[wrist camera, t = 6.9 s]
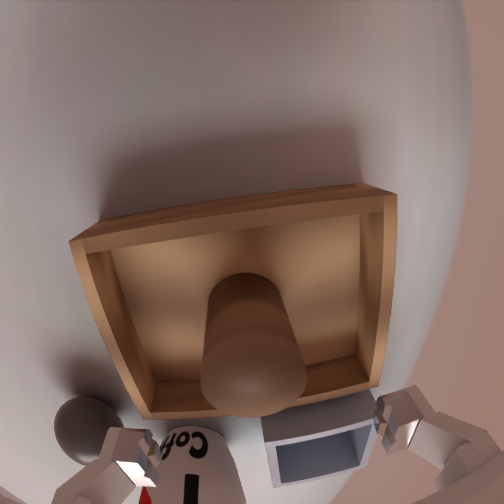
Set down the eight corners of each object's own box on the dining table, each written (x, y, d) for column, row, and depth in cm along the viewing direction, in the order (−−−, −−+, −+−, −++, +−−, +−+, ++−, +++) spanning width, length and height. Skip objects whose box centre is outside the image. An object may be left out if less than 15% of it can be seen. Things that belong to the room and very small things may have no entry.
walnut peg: (201, 278, 15) (189, 351, 10) (278, 267, 15) (306, 335, 10) (215, 340, 17) (212, 421, 11) (284, 330, 17) (307, 408, 11)
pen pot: (256, 385, 19) (264, 442, 14) (356, 365, 19) (382, 415, 15) (266, 439, 22) (273, 487, 17) (348, 422, 22) (365, 466, 17)
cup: (212, 403, 19) (211, 527, 10) (259, 451, 22) (272, 547, 13) (130, 426, 20) (107, 526, 11) (184, 468, 23) (180, 554, 13)
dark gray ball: (56, 380, 18) (29, 430, 13) (115, 382, 18) (93, 442, 13) (86, 425, 20) (69, 473, 15) (142, 429, 20) (131, 484, 15)
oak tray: (98, 221, 15) (68, 241, 11) (364, 183, 15) (397, 194, 12) (152, 382, 18) (143, 419, 15) (359, 352, 19) (378, 386, 16)
